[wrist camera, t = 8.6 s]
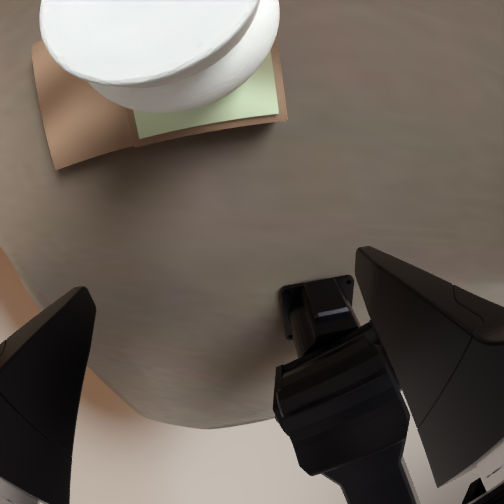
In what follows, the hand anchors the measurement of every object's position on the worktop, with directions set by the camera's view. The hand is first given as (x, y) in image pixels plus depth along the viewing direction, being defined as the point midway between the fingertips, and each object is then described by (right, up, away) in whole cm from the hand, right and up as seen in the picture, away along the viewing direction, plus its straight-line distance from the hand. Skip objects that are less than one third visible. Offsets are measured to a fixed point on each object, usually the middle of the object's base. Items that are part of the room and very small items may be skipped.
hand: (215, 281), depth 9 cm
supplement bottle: (-2, +12, +4) cm, 13 cm away
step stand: (-6, +13, +7) cm, 16 cm away
